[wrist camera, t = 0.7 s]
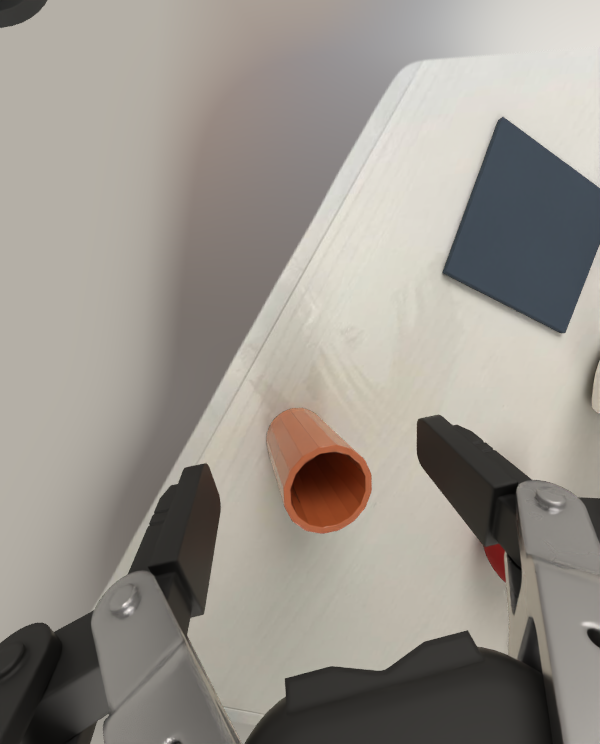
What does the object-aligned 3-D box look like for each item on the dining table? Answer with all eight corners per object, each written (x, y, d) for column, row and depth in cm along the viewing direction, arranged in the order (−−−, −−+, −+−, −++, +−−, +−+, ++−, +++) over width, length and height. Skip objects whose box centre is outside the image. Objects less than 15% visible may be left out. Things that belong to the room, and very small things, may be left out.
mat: (442, 272, 32) (445, 271, 32) (498, 120, 32) (502, 116, 31) (560, 333, 37) (565, 332, 37) (610, 202, 37) (616, 200, 36)
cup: (257, 458, 30) (270, 524, 19) (278, 400, 30) (302, 435, 19) (313, 471, 32) (353, 540, 21) (333, 417, 31) (384, 458, 21)
